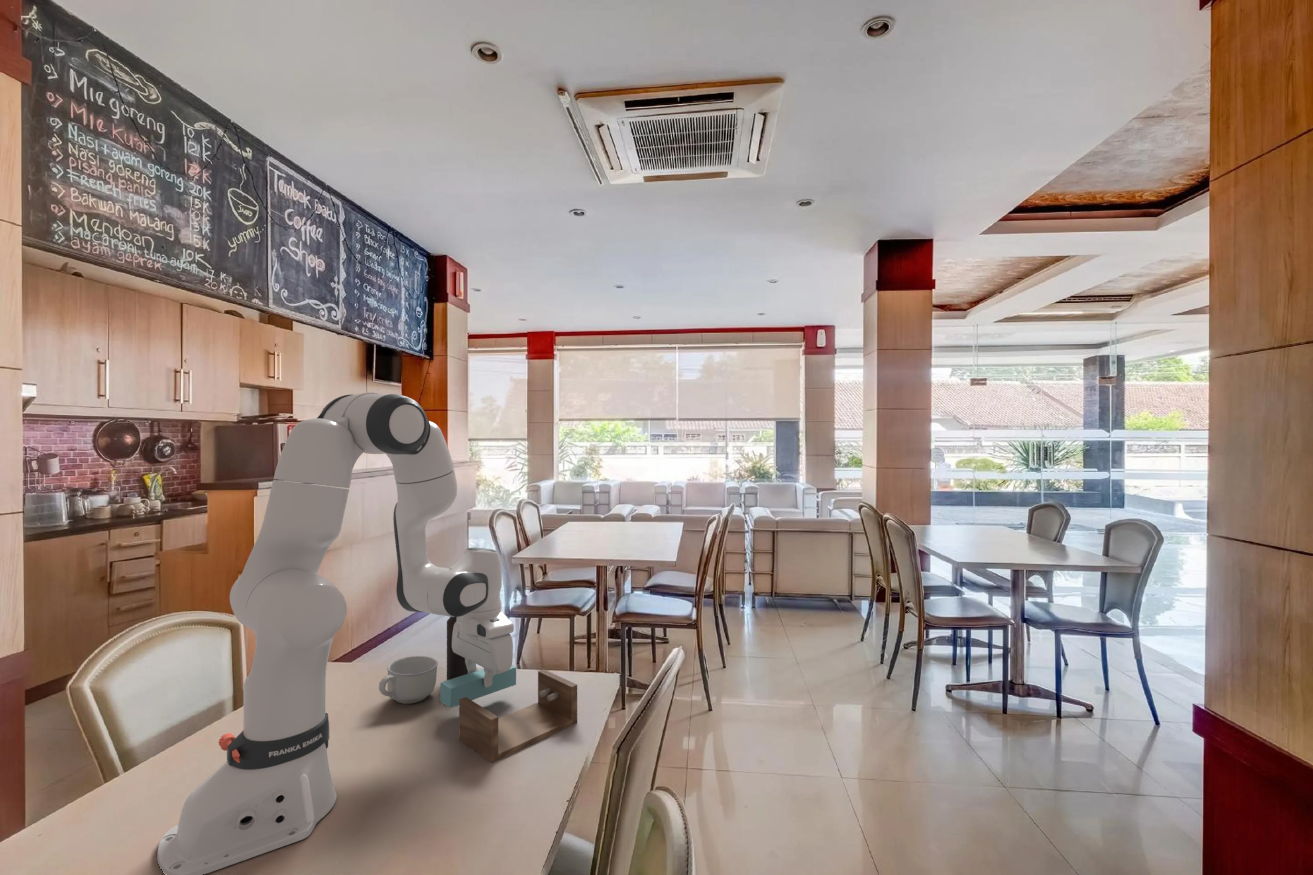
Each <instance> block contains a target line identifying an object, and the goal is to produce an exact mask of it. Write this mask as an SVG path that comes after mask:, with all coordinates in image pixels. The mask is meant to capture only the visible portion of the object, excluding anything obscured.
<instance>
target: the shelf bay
mask: <svg viewBox="0 0 1313 875" xmlns="http://www.w3.org/2000/svg"><path fill="white" fill-rule="evenodd" d="M458 709H459V710H458V711H459V712H458V733H459V734H458V740H459V741H460V742H462V743H463V744H464V745H466V746H467V747H469V748H470V749H471V750H473V751H474V752H475V753H477V754H478V755H479V756H480V757H482V758H483V759H485V760H487V761H488V762H489V763H490V764H493V763H494V762H496V761H498V760H501V759H503V758H506V757H507V756H509V755H511V754H514V753H516V752H518V751H520V750H523V749H524V748H526V747H528V746H531V745H533V744H534V743H536V742H539V741H541V740H543V739H545V738H547V737H550V736H552V735H554V734H556V733H558V732H560V731H562V730H564V729H567V728H568V727H571V726H573V725H575V724H578V684H576V683H575V682H572V681H570V680H568V679H566V678H563V677H561V676H559V675H557V674H555V673H553V672H551V671H549V670H546V669H544V668H543V669H541V670H538V671H537V702H536V703H532V704H530V705H528V706H526V707H523V708H520V709H518V710H516V711H513V712H511V713H508V714H506V715H504V716H501V717H499V716H497V715H496V714H494V713H493V712H491V711H490V710H488V709H486V708H485V707H483V706H481V705H480V704H478V703H476V702H475V701H473V700H470V699H468V698H467V697H465V698H462V699H459V705H458Z"/></svg>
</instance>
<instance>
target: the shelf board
mask: <svg viewBox="0 0 1313 875" xmlns="http://www.w3.org/2000/svg"><path fill="white" fill-rule="evenodd" d="M484 676H485V672H484V668H483V669H478V671H476V672H472V673H469V674H466V675H463V676H460V677H456V678H453V679H450V680H447V679H446V680H444V681H441V682H440V690H439V691H440V697H439V698H440V699H439V700H440V702H441V703H442V704H444V705H445V706H447V707H449V708H454V707H456V706H459V699H462V698H465V697H467V698H468V699H470V700H472V701H473V700H476V699H479V698H482V697H485V696H488V695H491V694H495V693H496V692H498V691H502V690H505V689H508V688H510V687H511V688H512V687H513V686H514V687H515V686H516V685H517V667H516V666H515V665H513V664H512V666H511V668H510V669H509V670H508V671H506V672H503V673H500V674H494V676H493V678H492V685H491V686H489V687H485V686H483V685H482V678H483V677H484Z"/></svg>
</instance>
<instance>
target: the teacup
mask: <svg viewBox="0 0 1313 875" xmlns="http://www.w3.org/2000/svg"><path fill="white" fill-rule="evenodd" d="M438 665H439V662H438V660H436V659H435V658H434V657H432V656H426V655H414V656H413V655H410V656H406V657H402V658H398V659H396V660H394V661H392V662H390V663H389V664H388V665H387V668H386V669H387V675H385V676H384V677H382V678H381V680H380V682H379V684H378V690H379V692H380V694H382V695H383V696H385V697H388V698H390V699H391V700H395V701H396V702H397V703H400V704H403V705H406V704H408V705H409V704H415V703H418V702H422V701H423V700H424V699H426V698H427V697H428V696H429V695H431V694H432V692H433V691H434V689H435V687H436V684H437V683H436V682H437V673H438V670H437V669H438ZM386 685H387V689H386Z"/></svg>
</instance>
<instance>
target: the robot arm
mask: <svg viewBox="0 0 1313 875" xmlns="http://www.w3.org/2000/svg"><path fill="white" fill-rule="evenodd" d="M283 445H284V446H283V447H282V450H281V453H280V456H279V458H278V462H277V464H276V467H275V471H274V475H273V480H272V483H271V487H270V492H269V497H268V500H267V504H266V509H265V514H264V517H263V521H262V524H261V528H260V531H259V534H258V537H256V538H257V539H256V541H255V543H254V545H253V547H252V549H251V551H250V554H249V556H248V558H247V560H246V563H245V565H244V568H243V570H242V572H241V575H240V576H238V578H237V579H236V580H235V581H234V583H233V585H232V586H231V589H230V593H229V603H230V607H231V610H232V612H233V615H234V616H235V618H236V620H237V621H238V622H239V623H240V624H241V625H242V626H244V627H246V628H248V629H249V630H251V631H253V635H254V637H255V649H254V651H255V652H254V655H253V660H252V664H251V668H250V672H249V674H248V676H247V677H246V678H245V680H244V682H243V721H242V722H243V723H242V724H243V728H242V731H241V732H240V733H239V734H238V735H237V736H236V737H235V735H234V734H233V733H231V732H227V733H225V734H222V735H221V736H220V737H221V738H219V740H218V742H217V743H218V745H219V747H220V749H221V750H222V751H226V760H227V761H226V762H224V763H223V764H222V765H220V767H219V768H218V769H217V770H216V771H214V773H212V774H211V775H210V776H208V778H207V779H205V780H204V781H203V782H202V783H201V784H200V785H199V786H197V787H196V788H195V789H194V790H193V791H192V792H191V793H190V794H189V795H188V796H187V797H186V799H185V801H184V804H183V806H182V809H181V812H180V815H179V819H178V824H175V825H173V826H172V827H171V828H169V829H168V830H167V831H165V833H164V834H163V836H162V837H161V839H160V841H159V843H158V847H157V855H156V856H157V857H156V860H157V864H159V865H158V867H159V866H160V868H159V870H160V869H162V871H163V872H164V873H165V874H167V875H203V874H204V875H206V874H209V873H212V872H215V871H218V870H221V869H223V868H226V867H228V866H231V865H235V864H237V863H240V862H243V861H246V860H248V859H251V858H254V857H257V856H261V855H263V854H266V853H269V852H271V851H274V850H277V849H279V848H283V847H284V846H285V847H286V846H288V845H290V844H294V843H297V842H299V841H303V840H304V839H306V838H308V837H309V836H310V835H311V834H312V833H313V831H314V829H315V827H316V825H317V824H318V823H319V821H321V820H322V819H323V818H324V817H325V816H326V815H327V814H328V813H329V812H330V811H331V810H332V808H333V807H334V806H335V804H336V802H337V797H338V796H337V795H338V794H337V792H336V789H335V786H334V783H333V780H332V775H331V770H330V765H329V759H328V757H329V756H328V748H329V740H330V720H329V713H327V712H326V696H327V695H326V694H327V693H326V692H327V690H326V689H327V688H326V686H327V685H326V684H327V666H328V661H329V657H330V652H331V647H332V644H333V641H334V637H335V635H336V634H337V633H338V632H339V631H340V629H341V628H342V626H343V624H344V622H345V620H346V616H347V610H348V609H347V608H348V607H347V602H346V599H345V596H344V595H343V593H342V592H341V591H340V590H339V588H338V587H337V586H336V585H335V584H334V582H332V581H331V580H329V579H328V578H326V577H324V576H322V575H319V570H320V567H321V565H322V562H323V560H324V559H325V556H326V555H327V552H328V550H329V549H330V547H331V545H332V544H333V542H335V541H336V540H337V538H338V537H339V536H340V535H341V534H340V533H341V530H342V525H343V521H344V515H345V511H346V506H347V503H348V497H349V492H350V487H351V484H352V483H351V482H352V474H353V470H354V466H355V464H356V462H357V460H358V459H359V458H360V457H361V456H362V454H369V455H384V454H385V455H386V456H387V457H388V458H389V460H390V461H389V462H390V463H391V465H392V469H393V470H392V471H393V475H394V480H395V485H396V490H397V491H396V492H397V493H396V494H397V502H396V504H395V506H394V509H393V518H392V520H393V530H394V540H395V541H394V542H395V551H396V559H397V560H396V562H397V580H396V587H395V588H396V598H397V601H398V603H399V605H400V606H401V607H402V608H403V609H404V610H405V611H408V612H413V613H425V614H426V613H427V614H432V615H438V616H444V617H449V618H450V617H457V620H456V622H455V624H454V627H453V634H452V650H453V652H454V653H456V654H458V655H460V656H462V657H464V658H465V663H466V666H467V670H468V674H469V673H472V672H476V671H479V669H478V668H477V665H478V666H480V667H482V668H483V669H484V672H485V676H484V677H483V678H482V685H483V686H485V687H489V686H491V685H492V678H493V676H494V674H500V673H503V672H506V671H508V670H509V669H510V668H511V666H512V665H513V660H514V659H513V658H514V657H513V654H514V651H513V650H514V646H513V645H514V643H513V642H514V641H513V637H512V635H511V634H512V633H514V630H515V628H514V627H515V625H514V623H513V622H512V621H511V619H510V618H509V617H508V616H507V615H506V614H505V612H504V611H503V610H502V600H501V595H500V594H501V590H502V584H503V582H502V581H503V580H502V579H503V574H502V573H503V571H502V569H503V568H502V561H501V557H500V553H499V552H498V551H497V550H495V549H493V548H483V547H481V548H480V547H468V548H466V549H464V552H463V555H462V556H461V557H460V559H459V560H458V561H456V562H455V563H454V564H453V565H452V566H449V567H441V566H436V565H435V564H433V562H431V560H430V559H429V557H428V545H427V544H428V543H427V534H426V527H427V524H428V522H429V520H431V519H434V518H436V517H438V516H440V515H442V514H443V513H445V512H446V511H448V509H449V508H450V507H451V506H452V505H453V503H454V502H455V499H456V498H457V493H458V484H457V478H456V473H455V468H454V464H453V459H452V455H451V453H450V449H449V447H448V444H447V441H446V439H445V437H444V434H443V431H442V429H441V428H440V427H439V425H438V424H436V423H435V422H433V421H430V420H429V419H428V417H427V413H426V412H425V410H424V409H423V407H422V406H421V405H420V404H419V402H417V401H416V400H414V399H413V398H412V397H411V398H410V397H408V396H407V395H406V396H405V395H403V394H402V395H401V394H397V393H389V394H383V393H376V392H364V393H363V392H362V393H356V394H345V395H341V396H338V397H337V398H335V399H333V400H331V401H330V402H329V403H327V404H326V405H325V406H324V407H323V409H322V410H321V412H320V413H319V415H318V417H316V418H310V419H309V418H308V419H305V420H302V421H300V422H298V423H296V424H295V425H294V426H293V427H292V429H291V430H290V433H289V435H288V437H287V439H286V440H285V443H284V444H283ZM162 871H161V872H162Z"/></svg>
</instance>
